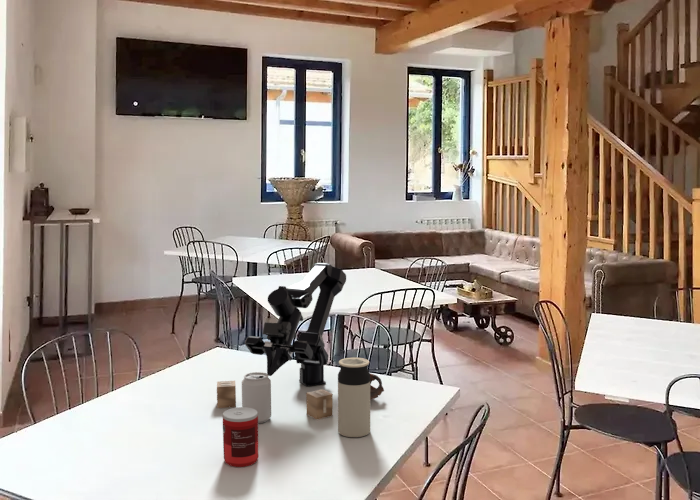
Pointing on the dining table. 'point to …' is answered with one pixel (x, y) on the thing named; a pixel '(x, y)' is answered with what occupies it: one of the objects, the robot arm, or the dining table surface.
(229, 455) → the canned food
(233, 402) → the marked block 1
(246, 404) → the can
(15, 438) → the dining table surface
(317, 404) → the marked block 2
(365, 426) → the travel mug
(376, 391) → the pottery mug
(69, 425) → the dining table surface
